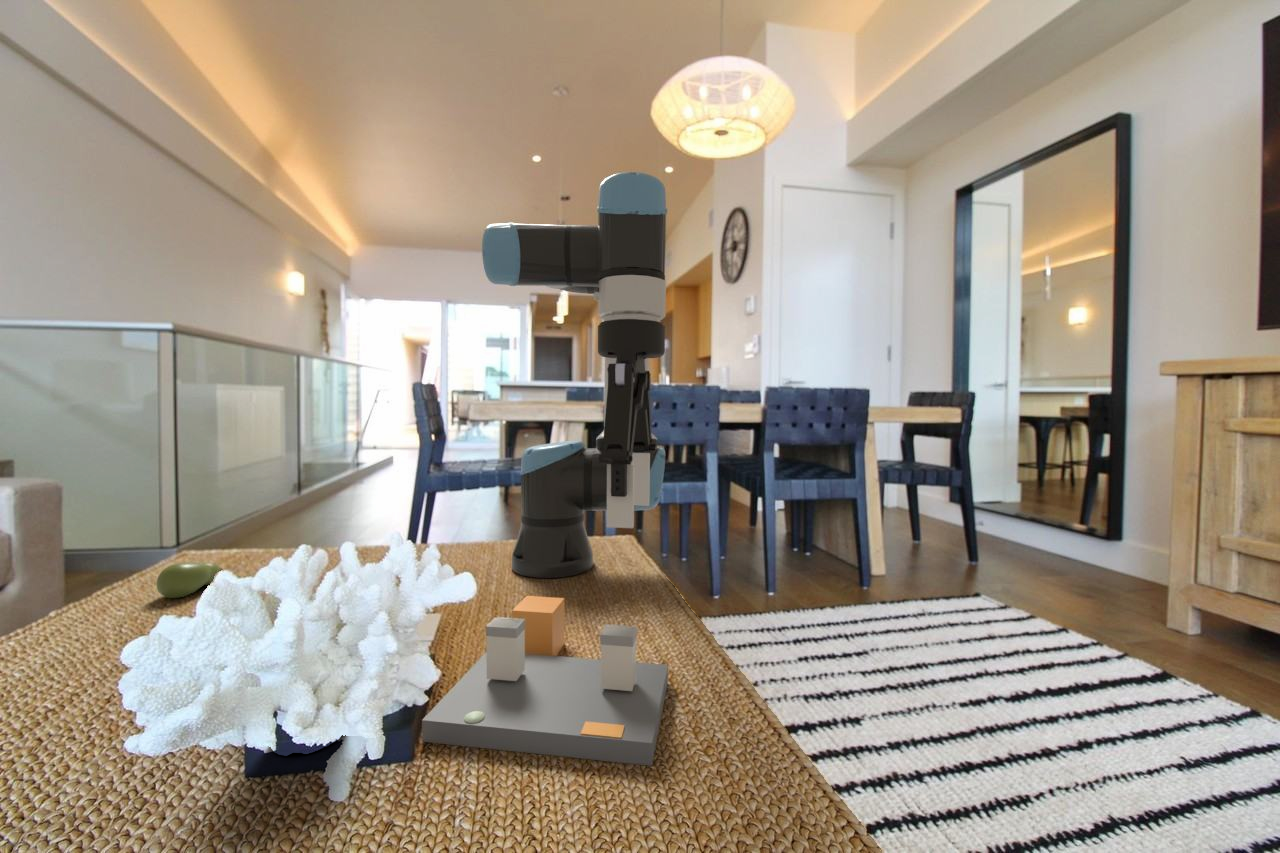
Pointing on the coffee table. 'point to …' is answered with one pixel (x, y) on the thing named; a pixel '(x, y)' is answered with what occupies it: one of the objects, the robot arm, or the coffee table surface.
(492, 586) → the coffee table surface
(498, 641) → the block
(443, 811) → the coffee table surface
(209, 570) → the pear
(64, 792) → the coffee table surface
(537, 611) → the block
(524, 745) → the plate
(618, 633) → the block
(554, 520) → the robot arm
